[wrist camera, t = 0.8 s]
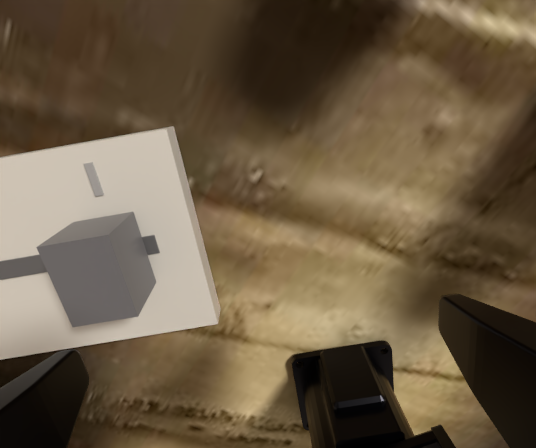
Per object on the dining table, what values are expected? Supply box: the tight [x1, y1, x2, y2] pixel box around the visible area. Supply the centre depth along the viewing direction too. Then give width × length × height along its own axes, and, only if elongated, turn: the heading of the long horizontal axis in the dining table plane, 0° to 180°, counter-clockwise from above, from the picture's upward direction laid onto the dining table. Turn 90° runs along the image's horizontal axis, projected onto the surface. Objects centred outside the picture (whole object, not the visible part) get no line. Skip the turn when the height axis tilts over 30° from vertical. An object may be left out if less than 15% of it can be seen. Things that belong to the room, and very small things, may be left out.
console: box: [0, 126, 220, 360], centre depth 18 cm, size 11×20×2 cm, turn 100°
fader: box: [36, 212, 156, 327], centre depth 16 cm, size 4×3×3 cm
